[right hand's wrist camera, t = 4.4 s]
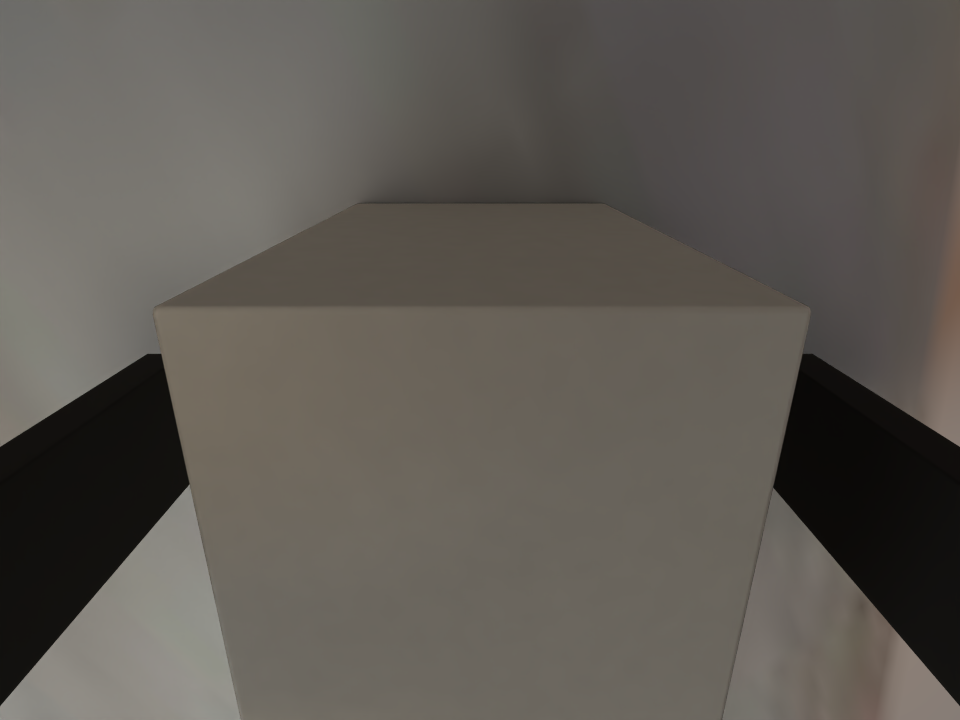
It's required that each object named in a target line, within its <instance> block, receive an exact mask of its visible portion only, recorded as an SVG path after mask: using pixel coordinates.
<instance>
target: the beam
mask: <svg viewBox="0 0 960 720" xmlns="http://www.w3.org/2000/svg"><path fill="white" fill-rule="evenodd" d="M810 317H811V310H810V308H809V307H808V306H806V305H804V304H802V303H800V302H798V301H796V300H794V299H792V298H790V297H788V296H786V295H784V294H782V293H780V292H778V291H776V290H774V289H772V288H770V287H768V286H766V285H764V284H762V283H760V282H758V281H756V280H754V279H752V278H750V277H749V276H747V275H745V274H743V273H741V272H739V271H737V270H735V269H733V268H731V267H729V266H727V265H725V264H723V263H721V262H719V261H717V260H715V259H713V258H711V257H709V256H707V255H705V254H703V253H701V252H699V251H697V250H695V249H693V248H691V247H689V246H687V245H685V244H683V243H681V242H679V241H677V240H675V239H673V238H671V237H669V236H667V235H665V234H663V233H661V232H659V231H657V230H655V229H653V228H651V227H649V226H648V225H646V224H644V223H642V222H640V221H638V220H636V219H634V218H632V217H630V216H628V215H626V214H624V213H622V212H620V211H618V210H616V209H614V208H612V207H610V206H608V205H606V204H355V205H353V206H352V207H350V208H348V209H346V210H344V211H342V212H340V213H338V214H336V215H334V216H332V217H330V218H328V219H326V220H324V221H322V222H320V223H318V224H316V225H314V226H312V227H310V228H309V229H307V230H305V231H303V232H301V233H299V234H297V235H295V236H293V237H291V238H289V239H287V240H285V241H283V242H281V243H279V244H277V245H275V246H273V247H271V248H269V249H267V250H266V251H264V252H262V253H260V254H258V255H256V256H254V257H252V258H250V259H248V260H246V261H244V262H242V263H240V264H238V265H236V266H234V267H232V268H230V269H228V270H226V271H224V272H223V273H221V274H219V275H217V276H215V277H213V278H211V279H209V280H207V281H205V282H203V283H201V284H199V285H197V286H195V287H193V288H191V289H189V290H187V291H185V292H183V293H181V294H180V295H178V296H176V297H174V298H172V299H170V300H168V301H166V302H164V303H162V304H160V305H158V306H156V307H155V308H154V309H153V318H154V323H155V327H156V332H157V336H158V341H159V345H160V350H161V355H162V359H163V364H164V368H165V373H166V378H167V382H168V387H169V391H170V396H171V401H172V405H173V410H174V414H175V419H176V424H177V428H178V433H179V437H180V442H181V446H182V451H183V456H184V460H185V465H186V469H187V474H188V479H189V483H190V488H191V492H192V497H193V502H194V506H195V511H196V515H197V520H198V525H199V529H200V534H201V538H202V543H203V548H204V552H205V557H206V561H207V566H208V570H209V575H210V580H211V584H212V589H213V593H214V598H215V603H216V607H217V612H218V616H219V621H220V626H221V630H222V635H223V639H224V644H225V649H226V653H227V658H228V662H229V667H230V672H231V676H232V681H233V685H234V690H235V694H236V699H237V704H238V708H239V713H240V717H241V720H722V717H723V712H724V708H725V703H726V699H727V694H728V690H729V685H730V680H731V676H732V671H733V667H734V662H735V658H736V653H737V649H738V644H739V640H740V635H741V630H742V626H743V621H744V617H745V612H746V608H747V603H748V599H749V594H750V590H751V585H752V581H753V576H754V571H755V567H756V562H757V558H758V553H759V549H760V544H761V540H762V535H763V531H764V526H765V521H766V517H767V512H768V508H769V503H770V499H771V494H772V490H773V485H774V481H775V476H776V472H777V467H778V462H779V458H780V453H781V449H782V444H783V440H784V435H785V431H786V426H787V422H788V417H789V413H790V408H791V403H792V399H793V394H794V390H795V385H796V381H797V376H798V372H799V367H800V363H801V358H802V353H803V349H804V344H805V340H806V335H807V331H808V326H809V322H810Z"/></svg>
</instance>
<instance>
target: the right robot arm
mask: <svg viewBox="0 0 960 720" xmlns="http://www.w3.org/2000/svg"><path fill="white" fill-rule="evenodd" d="M189 484H190V483H189V479H188V474H187V469H186V465H185V460H184V456H183V451H182V446H181V442H180V437H179V433H178V428H177V424H176V419H175V414H174V410H173V405H172V401H171V396H170V391H169V387H168V382H167V378H166V373H165V368H164V364H163V359H162V355H161V354H147V355H145V356H143V357H142V358H140V359H139V360H137V361H136V362H134V363H132V364H131V365H129V366H128V367H126V368H124V369H123V370H121V371H120V372H118V373H117V374H115V375H113V376H112V377H110V378H109V379H107V380H105V381H104V382H102V383H101V384H99V385H98V386H96V387H94V388H93V389H91V390H90V391H88V392H86V393H85V394H83V395H82V396H80V397H79V398H77V399H75V400H74V401H72V402H71V403H69V404H67V405H66V406H64V407H63V408H61V409H60V410H58V411H56V412H55V413H53V414H52V415H50V416H48V417H47V418H45V419H44V420H42V421H41V422H39V423H37V424H36V425H34V426H33V427H31V428H29V429H28V430H26V431H25V432H23V433H22V434H20V435H18V436H17V437H15V438H14V439H12V440H10V441H9V442H7V443H6V444H4V445H3V446H1V447H0V706H1V704H2V703H3V702H4V701H5V700H6V699H7V697H8V696H9V695H10V694H11V693H12V691H13V690H14V689H15V688H16V687H17V686H18V684H19V683H20V682H21V681H22V680H23V679H24V677H25V676H26V675H27V674H28V673H29V672H30V670H31V669H32V668H33V667H34V666H35V665H36V663H37V662H38V661H39V660H40V659H41V658H42V656H43V655H44V654H45V653H46V652H47V650H48V649H49V648H50V647H51V646H52V645H53V643H54V642H55V641H56V640H57V639H58V638H59V636H60V635H61V634H62V633H63V632H64V631H65V629H66V628H67V627H68V626H69V625H70V624H71V622H72V621H73V620H74V619H75V618H76V617H77V615H78V614H79V613H80V612H81V611H82V609H83V608H84V607H85V606H86V605H87V604H88V602H89V601H90V600H91V599H92V598H93V597H94V595H95V594H96V593H97V592H98V591H99V590H100V588H101V587H102V586H103V585H104V584H105V583H106V581H107V580H108V579H109V578H110V577H111V576H112V574H113V573H114V572H115V571H116V570H117V569H118V567H119V566H120V565H121V564H122V563H123V561H124V560H125V559H126V558H127V557H128V556H129V554H130V553H131V552H132V551H133V550H134V549H135V547H136V546H137V545H138V544H139V543H140V542H141V540H142V539H143V538H144V537H145V536H146V535H147V533H148V532H149V531H150V530H151V529H152V528H153V526H154V525H155V524H156V523H157V522H158V520H159V519H160V518H161V517H162V516H163V515H164V513H165V512H166V511H167V510H168V509H169V508H170V506H171V505H172V504H173V503H174V502H175V501H176V499H177V498H178V497H179V496H180V495H181V494H182V492H183V491H184V490H185V489H186V488H187V487H188V485H189ZM773 488H774V489H775V490H776V491H777V492H778V494H779V495H780V496H781V497H782V498H783V499H784V501H785V502H786V503H787V504H788V505H789V506H790V508H791V509H792V510H793V511H794V512H795V513H796V515H797V516H798V517H799V518H800V519H801V520H802V522H803V523H804V524H805V525H806V526H807V527H808V529H809V530H810V531H811V532H812V533H813V535H814V536H815V537H816V538H817V539H818V540H819V542H820V543H821V544H822V545H823V546H824V547H825V549H826V550H827V551H828V552H829V553H830V554H831V556H832V557H833V558H834V559H835V560H836V561H837V563H838V564H839V565H840V566H841V567H842V568H843V570H844V571H845V572H846V573H847V574H848V576H849V577H850V578H851V579H852V580H853V581H854V583H855V584H856V585H857V586H858V587H859V588H860V590H861V591H862V592H863V593H864V594H865V595H866V597H867V598H868V599H869V600H870V601H871V602H872V604H873V605H874V606H875V607H876V608H877V609H878V611H879V612H880V613H881V614H882V615H883V616H884V618H885V619H886V620H887V621H888V622H889V624H890V625H891V626H892V627H893V628H894V629H895V631H896V632H897V633H898V634H899V635H900V636H901V638H902V639H903V640H904V641H905V642H906V643H907V645H908V646H909V647H910V648H911V649H912V650H913V652H914V653H915V654H916V655H917V656H918V657H919V659H920V660H921V661H922V662H923V663H924V664H925V666H926V667H927V668H928V669H929V670H930V672H931V673H932V674H933V675H934V676H935V677H936V679H937V680H938V681H939V682H940V683H941V684H942V686H943V687H944V688H945V689H946V690H947V691H948V693H949V694H950V695H951V696H952V697H953V698H954V700H955V701H956V702H957V703H958V704H959V706H960V447H959V446H958V445H956V444H954V443H953V442H951V441H950V440H948V439H946V438H945V437H943V436H942V435H940V434H939V433H937V432H935V431H934V430H932V429H931V428H929V427H927V426H926V425H924V424H923V423H921V422H919V421H918V420H916V419H915V418H913V417H912V416H910V415H908V414H907V413H905V412H904V411H902V410H900V409H899V408H897V407H896V406H894V405H893V404H891V403H889V402H888V401H886V400H885V399H883V398H881V397H880V396H878V395H877V394H875V393H874V392H872V391H870V390H869V389H867V388H866V387H864V386H862V385H861V384H859V383H858V382H856V381H855V380H853V379H851V378H850V377H848V376H847V375H845V374H843V373H842V372H840V371H839V370H837V369H836V368H834V367H832V366H831V365H829V364H828V363H826V362H824V361H823V360H821V359H820V358H818V357H817V356H815V355H813V354H802V358H801V363H800V367H799V372H798V376H797V381H796V385H795V390H794V394H793V399H792V403H791V408H790V413H789V417H788V422H787V426H786V431H785V435H784V440H783V444H782V449H781V453H780V458H779V462H778V467H777V472H776V476H775V481H774V485H773Z"/></svg>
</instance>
